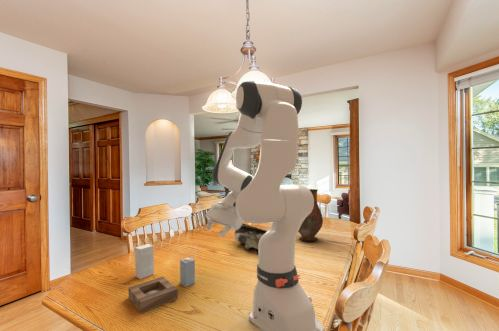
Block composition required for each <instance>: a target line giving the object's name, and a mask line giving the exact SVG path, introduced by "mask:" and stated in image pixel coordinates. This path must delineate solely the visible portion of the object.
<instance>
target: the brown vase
mask: <svg viewBox="0 0 499 331" xmlns="http://www.w3.org/2000/svg"><path fill="white" fill-rule="evenodd" d="M308 189H309V190H310V191H311V193H312V195H313V198H314V207H313V210H312V212H311V213H310V214H309V215H308V216H307V217H306V218H305V220H304V221H303V223H302V224H301V226H300V229H299V231H298V234H300V237H299V238H298V239H299V241H301V242H303V243H314V242H317V241H318V237H317V236H316V235H317V234H318V233H319V232H320V230H321V228H322V227H323V223H324V220H323V215H322V212H321V209H320V207H319V203H318V191H319V189H314V188H313V189H312V188H308Z"/></svg>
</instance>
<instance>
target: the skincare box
mask: <svg viewBox="0 0 499 331" xmlns="http://www.w3.org/2000/svg"><path fill="white" fill-rule="evenodd" d="M154 258H155V257H154V245H153V244H150V243H146V244H142V245H139V246H136V247H134V267H135V268H134V269H135V272H134V273H135V277H136V278H138V279H139V280H142V279H144V278H147V277H149V276H150V277H151V276H152V275H155V266H154V265H155V264H154V263H155V259H154Z"/></svg>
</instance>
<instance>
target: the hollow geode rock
mask: <svg viewBox="0 0 499 331" xmlns="http://www.w3.org/2000/svg"><path fill="white" fill-rule="evenodd" d="M267 231H268V230H265V229H263V228H258V227H256V226H252V225H249V224H245V223H243V224H242V226H241V227H240V228H239V229H238V230H234V238H235V241H236V242H237V243H239V244H240V245H242V244H243V245H244V248H245V249H247V250H249V249H250V248H254V249H256V250H258V243H259V240H260V238H261V236H262V235H263V234H265V233H266V232H267Z"/></svg>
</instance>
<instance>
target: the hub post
mask: <svg viewBox="0 0 499 331" xmlns="http://www.w3.org/2000/svg"><path fill="white" fill-rule="evenodd" d="M195 262H196V260H195V259H194V258H192V257H189V256H188V257H185V258H182V259H179V274H180V275H179V280H180V281H179V283H180V284H181V285H182V286H183V287H184V288H186V287H189V286H192V285H194V284H196V273H195V272H196V266H195V265H196V264H195Z"/></svg>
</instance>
